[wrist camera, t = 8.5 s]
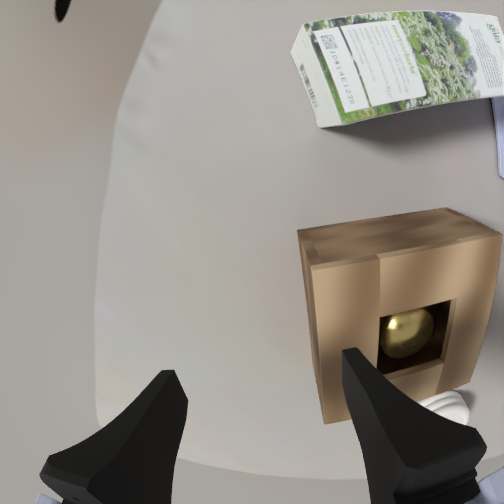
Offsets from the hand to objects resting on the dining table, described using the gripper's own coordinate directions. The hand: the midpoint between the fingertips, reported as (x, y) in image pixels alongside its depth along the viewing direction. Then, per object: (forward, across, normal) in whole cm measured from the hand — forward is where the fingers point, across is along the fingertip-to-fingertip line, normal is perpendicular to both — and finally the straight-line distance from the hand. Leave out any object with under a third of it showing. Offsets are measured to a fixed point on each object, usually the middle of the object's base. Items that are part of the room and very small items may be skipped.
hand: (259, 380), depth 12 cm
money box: (+10, -9, +3) cm, 14 cm away
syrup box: (+7, -5, -12) cm, 15 cm away
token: (+10, -9, +3) cm, 14 cm away
